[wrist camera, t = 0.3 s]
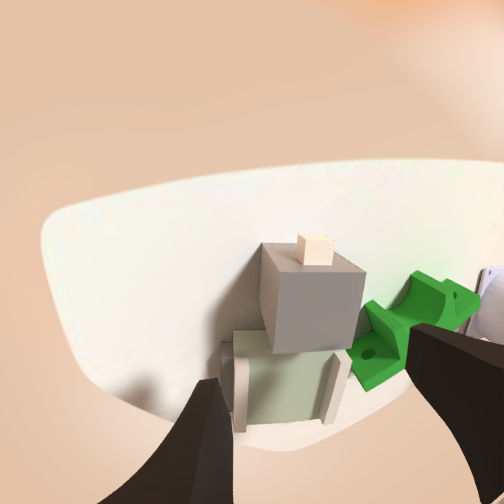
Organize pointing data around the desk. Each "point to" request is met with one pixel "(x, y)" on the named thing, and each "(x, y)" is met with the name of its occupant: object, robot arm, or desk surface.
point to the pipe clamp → (407, 326)
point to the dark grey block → (309, 295)
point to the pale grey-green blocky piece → (280, 382)
